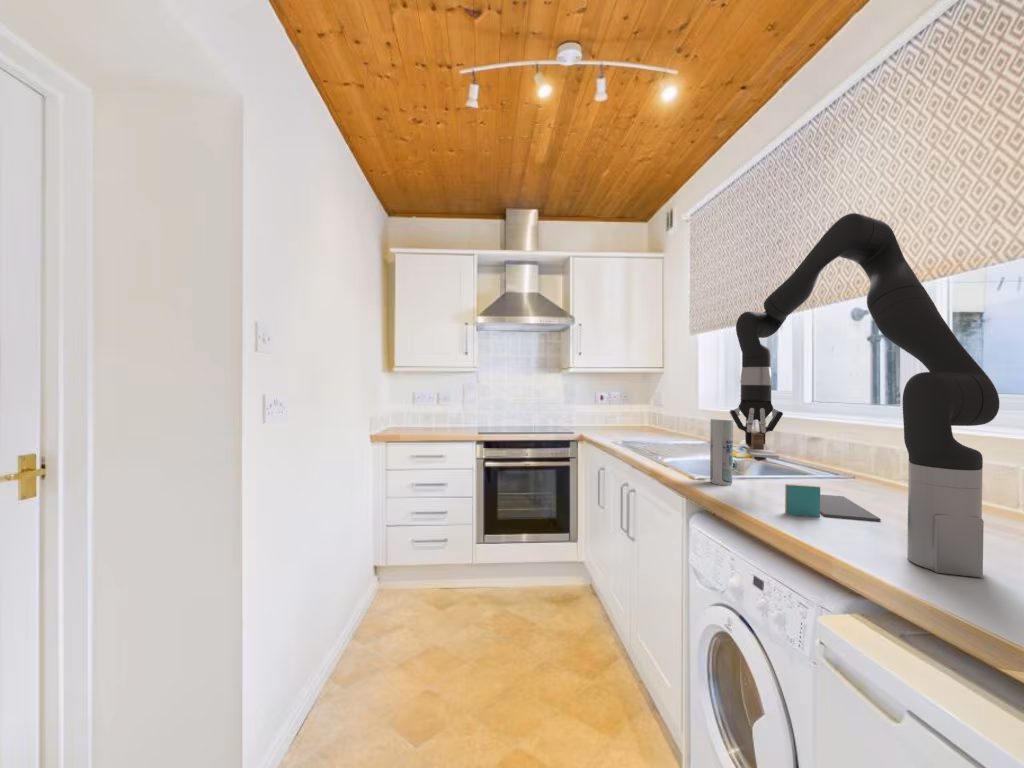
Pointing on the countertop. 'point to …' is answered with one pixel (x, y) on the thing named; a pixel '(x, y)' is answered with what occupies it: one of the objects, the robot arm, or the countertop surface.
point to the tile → (802, 500)
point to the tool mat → (843, 508)
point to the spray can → (721, 451)
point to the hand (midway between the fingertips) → (755, 445)
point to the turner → (759, 446)
